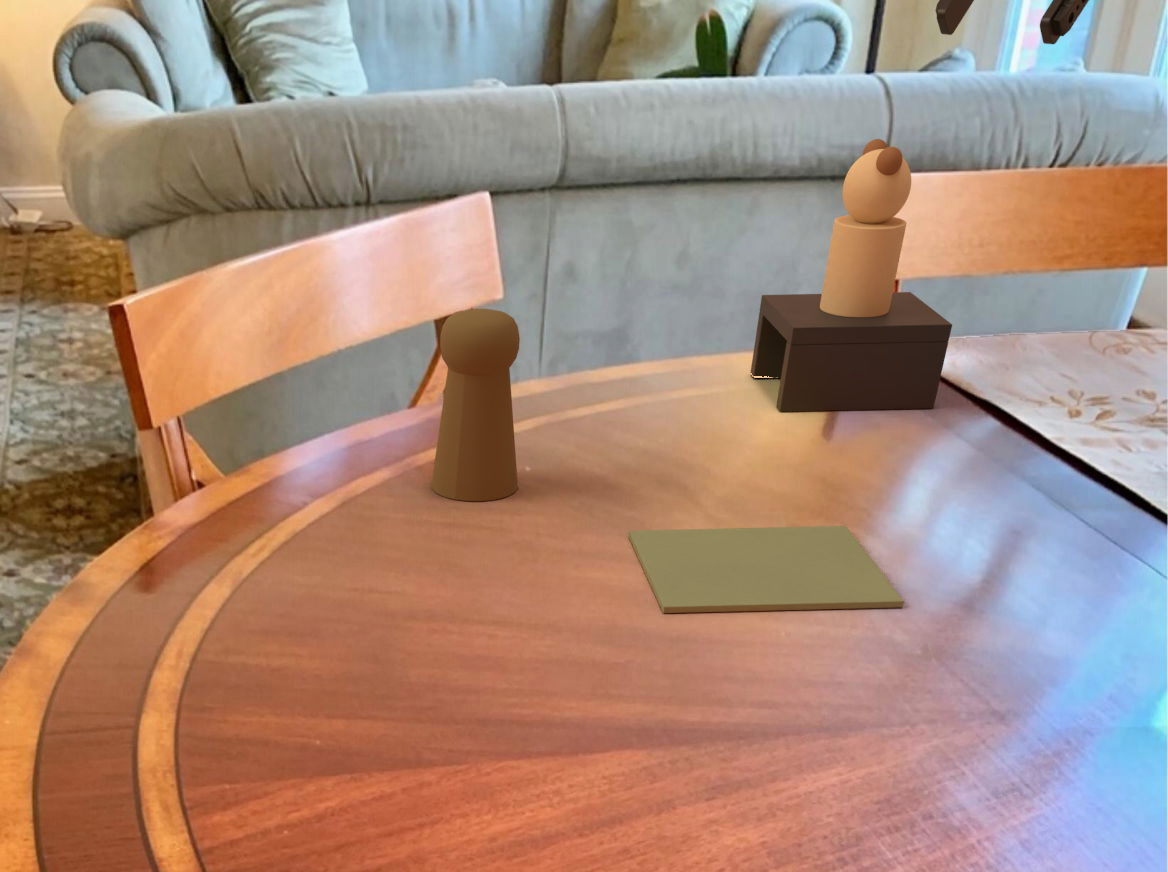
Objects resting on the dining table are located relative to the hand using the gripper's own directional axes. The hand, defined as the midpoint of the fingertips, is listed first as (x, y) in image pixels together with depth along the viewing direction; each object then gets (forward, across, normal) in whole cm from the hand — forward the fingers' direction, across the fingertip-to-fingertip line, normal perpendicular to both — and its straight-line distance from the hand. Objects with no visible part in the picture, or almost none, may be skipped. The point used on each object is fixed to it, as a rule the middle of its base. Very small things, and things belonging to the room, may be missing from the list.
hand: (993, 30), depth 108 cm
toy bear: (+20, 0, +4) cm, 20 cm away
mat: (+48, +19, -16) cm, 54 cm away
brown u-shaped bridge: (+24, 0, +8) cm, 26 cm away
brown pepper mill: (+50, -3, -18) cm, 53 cm away
